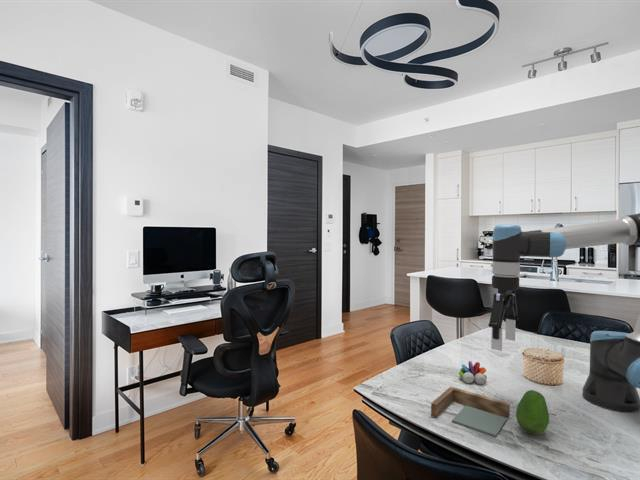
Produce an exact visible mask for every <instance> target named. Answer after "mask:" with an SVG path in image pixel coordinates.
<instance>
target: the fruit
mask: <svg viewBox="0 0 640 480" xmlns="http://www.w3.org/2000/svg"><path fill="white" fill-rule="evenodd" d="M515 417H516V421H517V424H518V425H519V427H520V429H522V431H524V432H525V433H527V434H530V435H533V436H538V435H541V434H543V433H544V432H546V430H547V428H548V426H549V423H550V413H549V409H548V404H547V402H546V398H545V397H544V395H543V394H542V393H540V392H538V391H537V390H533V389H529V390H527V391H526V392H525V393H524V394H523V396H522V397H521V398H520V401H519V402H518V404H517V407H516V412H515Z"/></svg>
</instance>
